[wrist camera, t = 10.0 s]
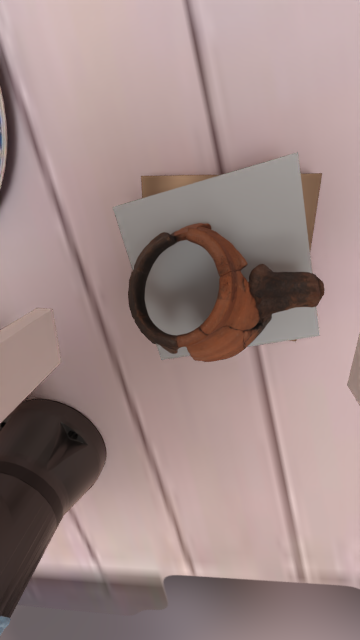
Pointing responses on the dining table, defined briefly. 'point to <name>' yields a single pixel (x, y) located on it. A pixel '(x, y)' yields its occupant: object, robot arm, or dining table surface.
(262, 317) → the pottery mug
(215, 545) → the dining table surface
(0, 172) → the ceramic plate
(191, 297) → the top slab
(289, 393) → the dining table surface
